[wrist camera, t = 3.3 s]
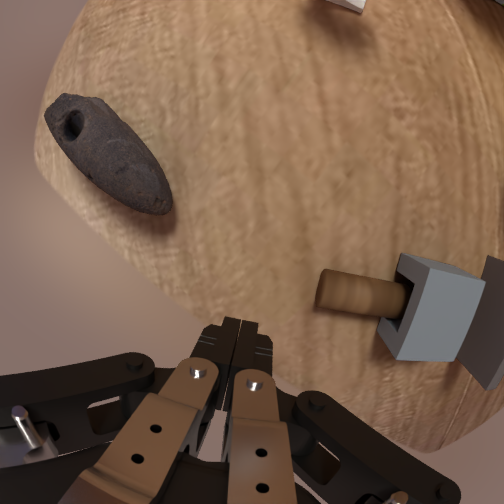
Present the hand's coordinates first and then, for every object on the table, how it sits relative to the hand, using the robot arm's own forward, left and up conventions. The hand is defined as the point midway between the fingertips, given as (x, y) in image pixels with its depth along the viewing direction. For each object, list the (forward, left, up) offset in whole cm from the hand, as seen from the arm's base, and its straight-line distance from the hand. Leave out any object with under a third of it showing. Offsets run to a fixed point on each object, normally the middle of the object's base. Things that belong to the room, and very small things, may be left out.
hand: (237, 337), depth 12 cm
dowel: (-10, 0, -12) cm, 16 cm away
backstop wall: (-26, 0, -12) cm, 28 cm away
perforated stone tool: (+13, -8, -12) cm, 20 cm away
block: (-16, 0, -12) cm, 20 cm away
